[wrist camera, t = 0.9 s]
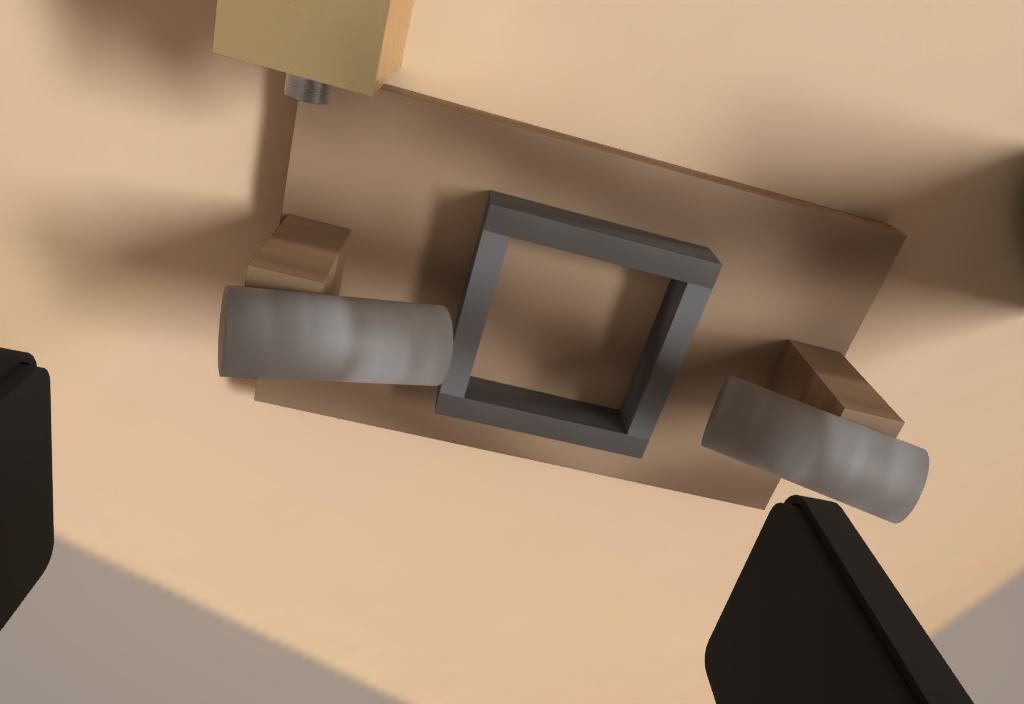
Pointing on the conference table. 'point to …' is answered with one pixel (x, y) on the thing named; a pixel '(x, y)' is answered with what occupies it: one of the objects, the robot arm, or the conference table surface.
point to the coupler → (317, 41)
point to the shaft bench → (568, 307)
